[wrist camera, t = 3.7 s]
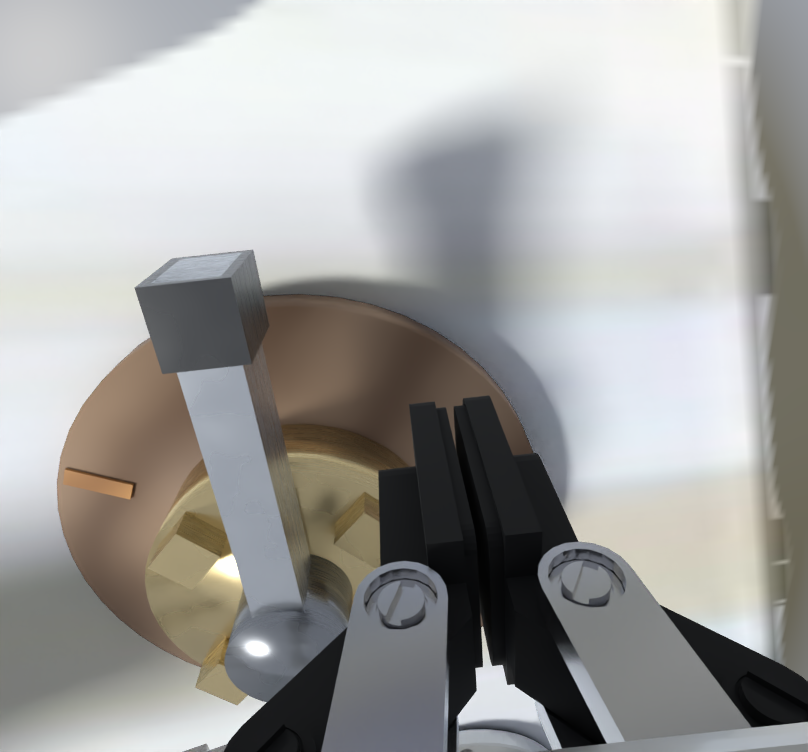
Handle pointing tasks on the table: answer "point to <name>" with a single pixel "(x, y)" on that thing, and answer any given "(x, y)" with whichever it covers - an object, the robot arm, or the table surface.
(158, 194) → the table surface
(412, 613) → the robot arm
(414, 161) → the table surface
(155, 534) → the lever base
